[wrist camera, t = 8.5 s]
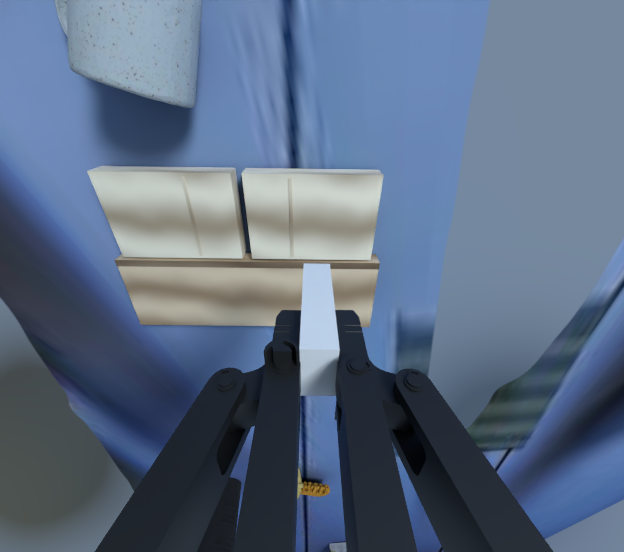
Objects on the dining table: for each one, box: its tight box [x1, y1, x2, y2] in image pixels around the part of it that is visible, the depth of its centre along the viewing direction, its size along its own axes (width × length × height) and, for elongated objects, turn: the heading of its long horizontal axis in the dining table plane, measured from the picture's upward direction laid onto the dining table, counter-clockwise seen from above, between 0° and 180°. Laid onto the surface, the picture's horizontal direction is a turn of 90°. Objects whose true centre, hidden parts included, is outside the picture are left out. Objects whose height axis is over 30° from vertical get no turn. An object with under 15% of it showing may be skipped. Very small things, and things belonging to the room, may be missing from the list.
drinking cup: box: [197, 478, 241, 552], centre depth 51 cm, size 8×8×20 cm
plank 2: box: [242, 168, 384, 260], centre depth 28 cm, size 9×12×2 cm
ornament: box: [297, 467, 330, 499], centre depth 56 cm, size 7×10×15 cm
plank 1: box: [87, 166, 246, 259], centre depth 28 cm, size 9×12×2 cm
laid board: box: [115, 253, 380, 327], centre depth 33 cm, size 9×28×2 cm, turn 89°
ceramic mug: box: [55, 0, 202, 108], centre depth 18 cm, size 11×8×8 cm
